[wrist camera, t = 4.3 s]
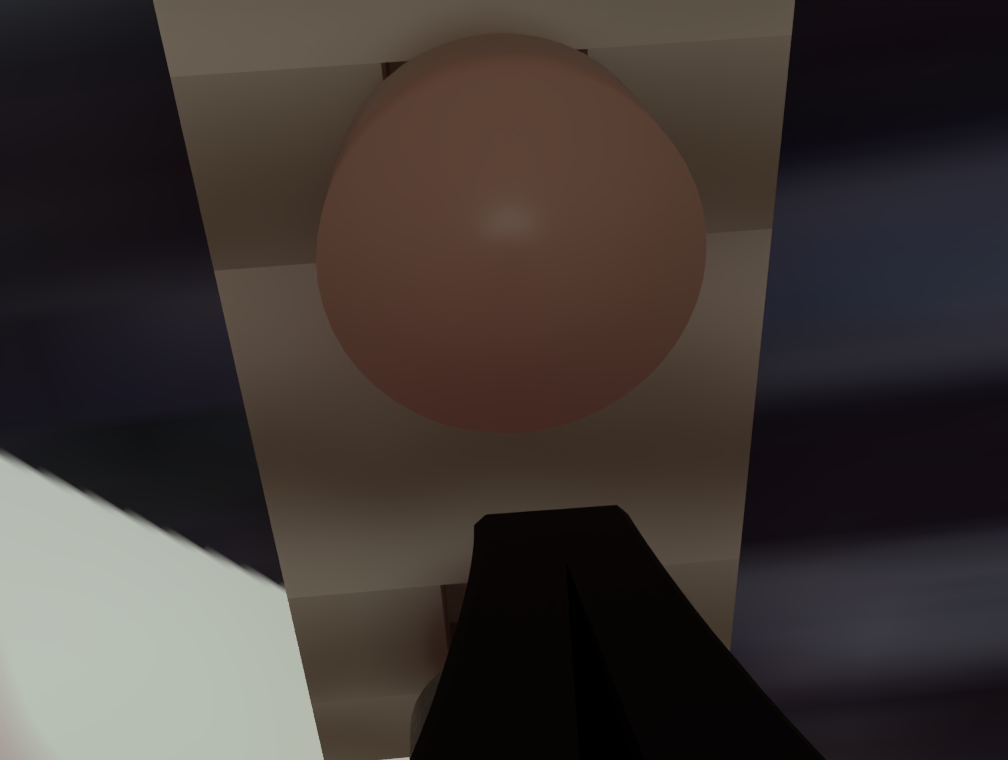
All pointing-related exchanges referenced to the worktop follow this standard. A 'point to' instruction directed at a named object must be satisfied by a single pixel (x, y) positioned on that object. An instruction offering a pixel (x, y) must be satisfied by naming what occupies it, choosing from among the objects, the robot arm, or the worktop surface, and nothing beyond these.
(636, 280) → the pot knob
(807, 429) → the worktop surface
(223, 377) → the worktop surface
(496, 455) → the knob bar
